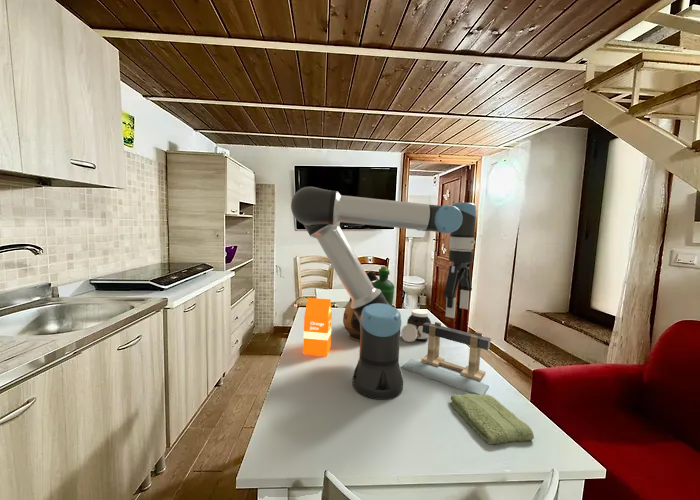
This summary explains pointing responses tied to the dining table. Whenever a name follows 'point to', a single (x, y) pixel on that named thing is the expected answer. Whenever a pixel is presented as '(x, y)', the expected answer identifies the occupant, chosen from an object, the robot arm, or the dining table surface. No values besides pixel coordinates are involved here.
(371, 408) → the dining table surface
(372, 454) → the dining table surface
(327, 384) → the dining table surface
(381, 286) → the bottle
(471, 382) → the slate mat
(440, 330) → the steel bar
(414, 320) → the spread jar
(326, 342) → the orange juice
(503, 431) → the washcloth
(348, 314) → the ceramic jug
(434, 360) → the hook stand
